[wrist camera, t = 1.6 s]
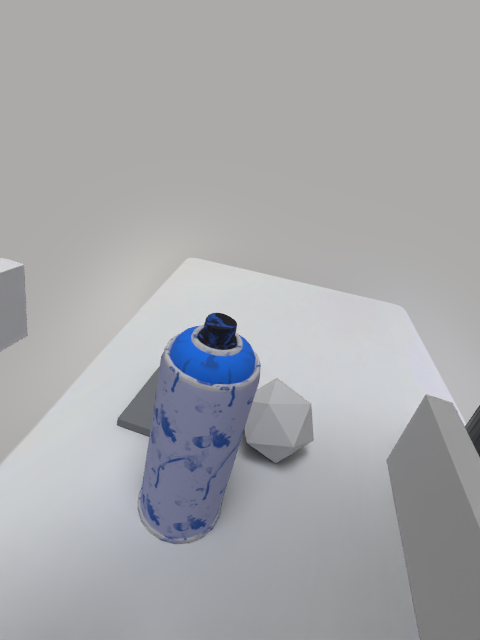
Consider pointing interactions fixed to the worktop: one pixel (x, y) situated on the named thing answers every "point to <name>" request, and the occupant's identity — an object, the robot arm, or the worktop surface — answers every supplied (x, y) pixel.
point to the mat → (141, 408)
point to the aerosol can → (196, 428)
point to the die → (278, 421)
